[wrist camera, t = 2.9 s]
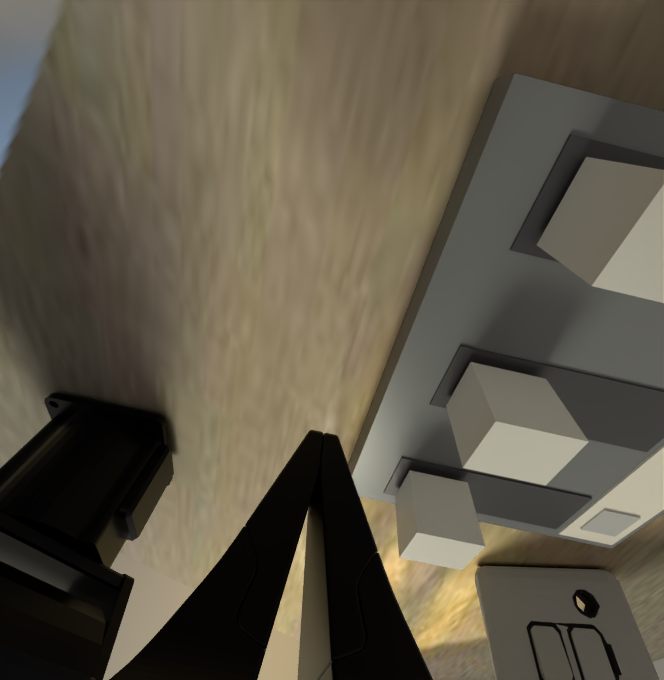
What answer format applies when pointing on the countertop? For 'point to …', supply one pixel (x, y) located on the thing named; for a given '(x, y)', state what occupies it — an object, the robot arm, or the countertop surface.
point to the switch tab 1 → (437, 521)
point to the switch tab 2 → (512, 425)
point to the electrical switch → (560, 625)
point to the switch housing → (530, 326)
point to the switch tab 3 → (612, 228)
